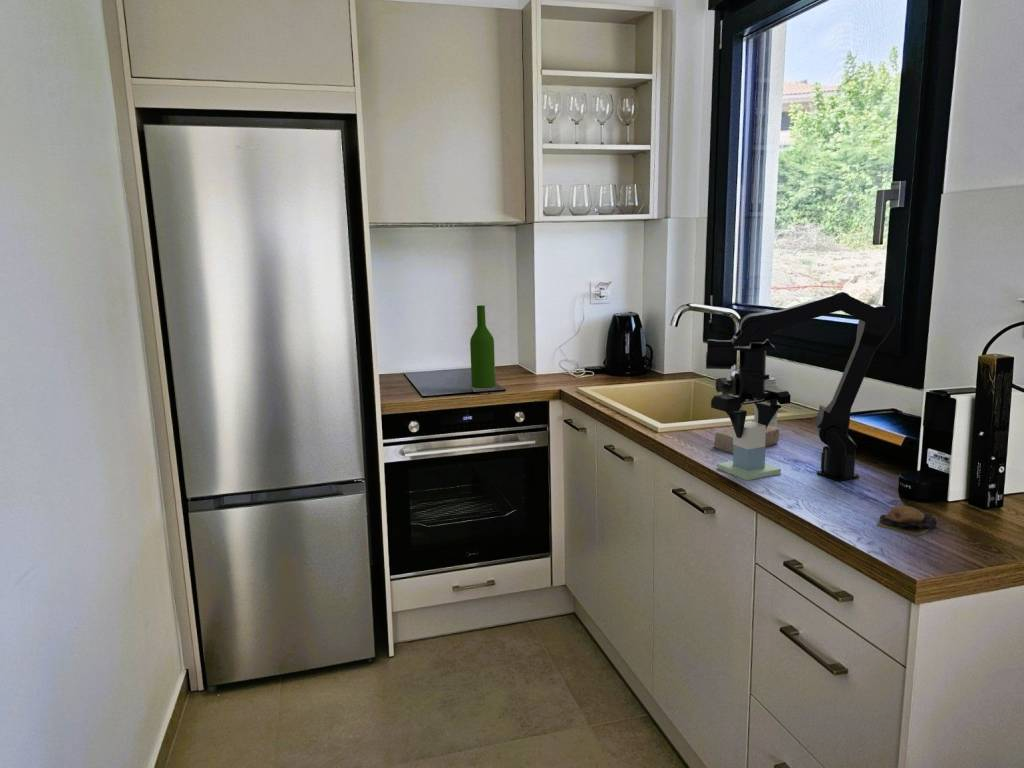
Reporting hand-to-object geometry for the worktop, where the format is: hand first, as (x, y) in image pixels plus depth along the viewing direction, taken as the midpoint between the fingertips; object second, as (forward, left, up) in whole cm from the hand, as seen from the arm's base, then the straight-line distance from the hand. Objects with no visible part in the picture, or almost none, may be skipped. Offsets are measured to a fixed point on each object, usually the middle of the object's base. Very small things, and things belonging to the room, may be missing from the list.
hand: (749, 435), depth 163 cm
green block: (0, 0, -8) cm, 8 cm away
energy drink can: (+27, -30, -9) cm, 41 cm away
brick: (+17, -15, -9) cm, 24 cm away
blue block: (0, 0, -7) cm, 7 cm away
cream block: (0, 0, -2) cm, 2 cm away
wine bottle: (+120, +20, -9) cm, 121 cm away
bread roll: (-38, -4, -9) cm, 39 cm away
